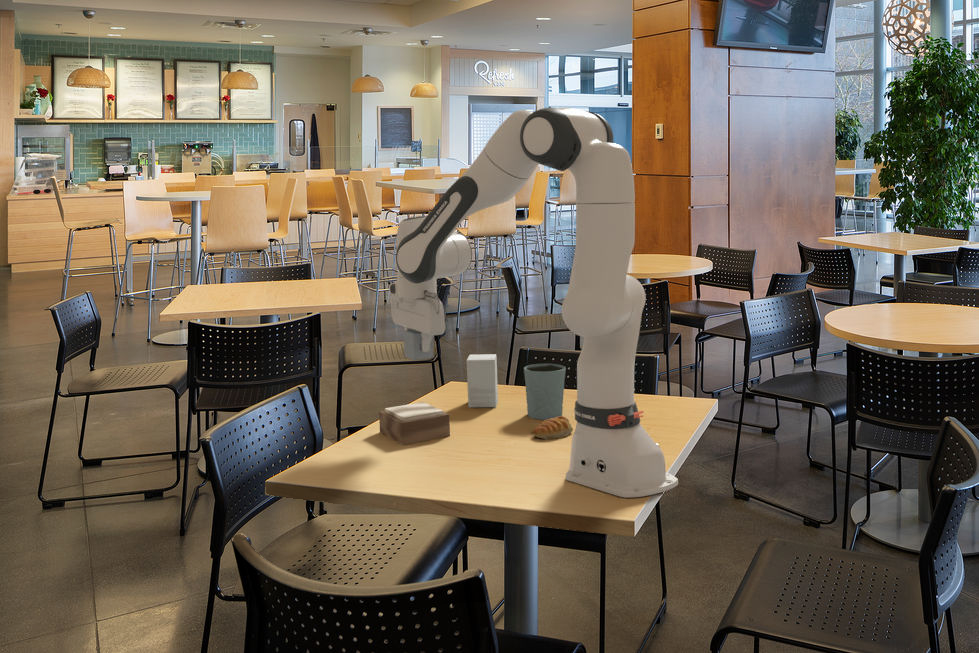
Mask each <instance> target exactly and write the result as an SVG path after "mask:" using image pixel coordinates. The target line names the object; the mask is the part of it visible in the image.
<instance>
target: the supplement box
mask: <svg viewBox="0 0 979 653" xmlns="http://www.w3.org/2000/svg"><path fill="white" fill-rule="evenodd" d="M497 360H498V358H497V354H495V353H494V354H493V353H492V354H491V353H489V354H487V353H486V354H485V353H484V354H483V353H482V354H469V355H468V357H467V359H466V379H467V380H466V381H467V382H466V383H467V386H466V387H467V402H468V404H467V405H468V408H497V405H498V401H499V395H498V392H499V391H498V390H499V389H498V387H499V386H498V366H497V365H498V363H497V362H498V361H497Z"/></svg>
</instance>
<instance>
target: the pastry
mask: <svg viewBox="0 0 979 653" xmlns="http://www.w3.org/2000/svg"><path fill="white" fill-rule="evenodd" d="M573 431H574V429H573V427H572V424H571V422H570V420H569V419H568V418H567V417H566V416H563V415H562V416H559V417H555V418H550V419H546V420H543V421H541V423H540V424H537V425H536V426H535V427H534V429H533V430H532V432H533V437H536V438H538V439H539V438H540V439H543V440H548V439H558V438H561V437H565V436H568V435H571V434H572V432H573Z"/></svg>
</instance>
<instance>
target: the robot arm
mask: <svg viewBox="0 0 979 653" xmlns="http://www.w3.org/2000/svg"><path fill="white" fill-rule="evenodd" d="M613 132H614V131H613V128H612V126H611V125H610V123H609V122H608V121H607V120H606V119H605V118H604V117H603V116H602V115H600V114H598V113H595V112H592V111H584V110H581V109H580V110H579V109H577V108H573V107H551V106H550V107H549V106H548V107H543V108H540V109H538V110H535V111H530V110H525V109H520V110H516V111H514V112H513V113H511V114H510V115H509V116H508V117H506V119H505V120H504V121H503V122H502V123H501V124H500V125H499V127H497V129H496V130H495V132H494V133H493V134H492V135H491V137H490V138H489V139H488V141H487V143H486V144H485V146H484V147H483V149H482V150H481V152H480V153H479V154H478V156H477V157H476V159H475V160H474V161H473V162H472V164H470V166H469V167H467V168H468V169H466V170H465V172H463V174H462V175H460V177H459V178H458V179H456V181H454V183H452V185H451V186H450V187H448V189H447V190H446V192H444V194H442V196H441V198H440V199H439V200H438V202H436V204H435V205H434V206H433V207H432V209H431V210H430V211H429V213H428V214H427V215H420V216H413V217H412V216H411V217H408V218H405V219H403V220H401V221H400V222H399V224H398V227H397V232H396V245H395V246H396V252H395V262H396V267H397V273H396V274H397V275H396V278H397V279H396V280H395V281H394V282H392V283H390V284H389V286H388V292H389V294H390V295H391V296H390V311H391V312H390V313H391V320H392V321H393V323H394V324H395V325H398V326H401V327H404V330H403V332H404V331H405V330H416V331H419V332H421V337H422V343H420V350H421V351H423V352H428V351H430V342H431V339H432V335H433V336H440V335H444V333H445V331H446V321H445V320H446V318H445V311H444V309H445V308H444V305H443V303H442V301H441V299H440V298H439V297H438V292H437V290H438V288H437V280H438V279H443V278H444V279H445V278H447V277H455V276H458V275H461V274H464V273H465V272H467V271H468V270H469V268H470V266H471V263H472V259H473V252H472V251H473V250H472V247H471V243H470V242H469V240H468V238H467V237H465V235H464V234H461V233H458V232H455V231H456V229H457V228H458V227H459V226H460V225H461V223H462V222H464V220H466V219H467V218H468V217H470V216H471V215H474V214H475V213H478V212H480V211H482V210H485V209H488V208H491V207H494V206H495V207H496V206H498V205H501V204H504V203H506V202H507V203H508V201H510V200H511V199H513V198H514V197H515V196H516V195H517V194H519V192H520V191H522V189H523V188H524V186H525V185H526V183H527V182H528V181H529V179H530V178H531V176H532V175H533V173H534V172H535V170H536V169H537V167H538V166H539V165H541V166H544V167H548V168H551V169H553V170H557V171H560V172H564V171H566V170H568V171H569V172H570V173H571V174H572V175H573V177H574V181H575V190H576V191H575V192H576V193H575V249H574V256H573V262H572V266H571V272H570V277H569V278H570V279H569V283H568V289H567V291H566V294H565V296H564V299H563V300H562V301H563V302H562V305H561V317H562V320H563V322H564V324H565V326H566V327H567V329H568V330H569V331H571V333H573V334H574V335H576V336H579V337H583V344H582V348H581V350H580V351H581V352H580V354H579V355H578V356H579V357H578V358H577V364H576V395H577V396H576V401H575V403H574V411H573V412H574V420H575V421H576V424H575V429H574V433H573V435H572V438H571V439H572V440H571V447H570V458H569V459H570V460H569V469H568V471H567V472H566V474H565V480H567V481H568V482H569V481H570V482H572V483H574V484H575V483H576V484H578V485H581V486H585V487H588V488H591V489H595V490H598V491H601V492H604V493H607V494H610V495H614V496H616V497H620V498H640V497H646V496H652V495H656V494H659V493H663V492H664V493H665V492H666V491H669V490H671V489H673V488H675V487H676V486H677V487H678V485H679V479H678V478H677V477H676V476H674V475H673V474H671V473H669V472H667V471H666V462H665V461H666V460H665V455H664V452H663V450H662V449H661V447H660V444H658V443H657V442H655V440H654V439H652V437H651V436H650V435H649V433H648V432H647V431H646V429H645V428H644V427H643V426H642V425H641V418H644V415H642V414H643V413H644V410H641V411H639V409H638V407H637V403H636V401H635V361H636V355H637V347H638V342H639V336H640V331H641V330H640V329H641V322H642V314H643V312H644V307H645V304H646V301H647V300H646V291H645V289H644V287H643V285H642V284H641V282H640V281H639V280H638V279H637V278H636V277H634V276H633V275H629V274H628V271H629V270H628V269H629V266H630V265H629V264H630V260H631V256H632V252H633V249H634V247H635V243H636V242H635V241H636V239H635V238H636V236H635V235H636V231H635V230H636V204H635V201H636V193H635V192H636V190H635V179H634V178H635V177H634V170H633V165H632V160H631V156H630V153H629V152H628V150H627V149H626V148H625V147H623V146H622V145H620V144H617V143H614V133H613Z"/></svg>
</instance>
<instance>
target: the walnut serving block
mask: <svg viewBox="0 0 979 653" xmlns="http://www.w3.org/2000/svg"><path fill="white" fill-rule="evenodd" d="M378 418H379V420H378V421H379V433H380V434H382V435H384V436H385V437H387V438H390V439H391V440H393V441H396V442H397V443H399V444H401V445H408V444H413V443H419V442H424V441H430V440H435V439H438V438H445V437H449V436H450V435H451V431H450V430H451V426H450V413H448V412H445V411H444V410H443V409H440V408H438V407H435V406H433V405H432V404H428V403H427V402H424V401H421V402H414V403H409V404H408V403H407V404H404V405H398V406H397V405H396V406H391V407H386V408H384V410H380V411H378Z"/></svg>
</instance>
